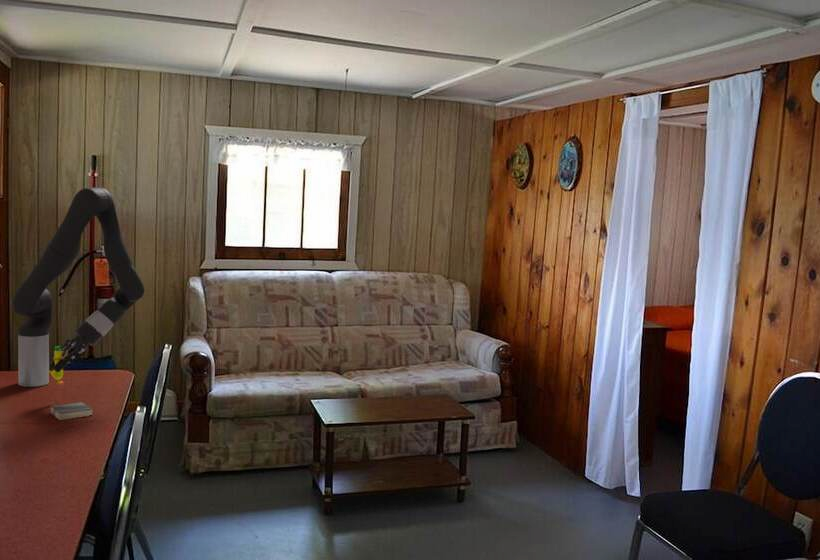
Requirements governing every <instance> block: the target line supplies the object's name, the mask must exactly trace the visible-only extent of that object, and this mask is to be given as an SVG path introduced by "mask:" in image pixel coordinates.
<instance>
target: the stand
mask: <svg viewBox="0 0 820 560" xmlns="http://www.w3.org/2000/svg"><path fill="white" fill-rule="evenodd" d="M50 413H51V414H52V415H53V416H54V417H55V418H56V419H58V420H59V421H63V420H70V419H77V417H78V418H83V417H84V416H85V417H90V415H92V416H93V409H92V408H91V407H90V406H89V405H87V404H85V403H84V402H81V401H80V402H73V403H67V404H59V405H53V406H52V405H51V406H50ZM85 417H84V418H85Z"/></svg>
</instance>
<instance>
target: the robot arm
mask: <svg viewBox="0 0 820 560" xmlns="http://www.w3.org/2000/svg"><path fill="white" fill-rule="evenodd" d="M115 206H116V205H115V202H114V199H113V196H112V194H111V193H110V192H109V190H108V189H106V188H103V187H85V188H82V189H80V190H78V191H77V192H76V194H75V196H74V198H72V201H71V203H70V206H69V209H68V211H67V212H66V214H65V216H64V218H63V221H62V222H61V224H60V225H59V227H58V229H57V230H56V232H55V234H54V235H53V237H52V238H51V239H50V241H49V243H48V245H47V246H46V247H45V250H43V253H42V254H41V256H40V258H39V259H38V261H37V263H36V264H35V266H34V267H33V269H32V270H31V272H30V273H29V275H28V276H27V278H26V279H25V280H24V281H23V283H22V284H21V285H20V286H19V288H18V289H17V290H16V292H15V293H14V295H13V297H12V301H11V304H12V305H11V306H12V309H13V311H14V313H15V314H17V316H18V315H19V316H23V317H24V316H25V317H27V319H26V320H25V322H23V323H22V324H21V325H19V327H18V330H17V333H18V334H17V340H18V341H17V343H18V345H17V347H18V349H17V350H18V354H17V355H18V356H17V357H18V360H17V361H18V367H17V368H18V378H17V379H18V386H21V387H25V388H27V387H29V388H33V387H34V388H35V387H42V386H46V385H48V384H49V383H50V372H49V371H50V368H51V369H52V370H55V371H56V372H59V371H60V370H61V369H62V370H63V368H65V367H66V365H68V364H74V363H75V361H77V360H79V358H81V357H82V356H84V355H85V354H86V353H87V352H88V351H87V350H86V348H87V347H88V346H89V345H90V346H92V347H95V346H96V345H97V344H98V342H99V341H100V340H102V339H103V338H104V337H105V336H106V335H107V334H108V333H109V332H110V331H111V330H112V328H113V326H114V325H116V323H117V322H118V321H119V320H121V318H122V317H123V316H124V315H125V312H127V310H129V309H130V308H131V307H132V306H133V305H135V304H136V303H137V302H138V301H140V300H141V299H142V298H143V296H144V295H145V286H144V283H143V281H142V278H141V277H140V275H139V274H138V272H137V270H136V268H135V266H134V263H133V261H132V258H131V255H130V253H129V250H128V249H127V246H126V244H125V240H124V238H123V235H122V231H121V227H120V223H119V220H118V215H117V210H116V207H115ZM94 217H96V218H97V220H98V222H99V223H100V226H101V231H102V235H103V236H102V239H103V251H104V255H105V258H106V262H107V263H108V266H109V268H110V271H111V272H112V274H113V275H114V276H115V278H116V281H117V283H118V285H119V288H118V289H117V290H116V291H115V292H114V294H113V295H112V296H111V297H110V298H108V299H107V300H106V301H105V302H103V304H102V305H100V307H99V308H97V310H96V311H94V312H93V313H91V315H89V316H88V317H87V318H86V319H85V320H84V321H83V322H82V323H81V324H80V325H79V326H77V328H76V329H75V333H76V334H77V335H76V336H75V337H74V338H72V339H67V340H66V341H65V342H64V344H63V345H62V347H60V349H62V350H61V351H62V356H63V357H62V359H63V360H62V359H61V360H60V361H59V362H58V363H56V364H55V361H54V360H52V361H51V363H50V345H49V344H50V342H49V341H50V339H49V338H50V328H51V326H52V319H53V297H52V295H51V293H50V290H48V289H47V288H48V287H49V285H50V284H52V283H53V282H54V281H56V280H57V279H58V278H60V277H61V276H62V275H63V274H64V273H65V272H66V271H68V270H69V268H70V267H71V266H72V265H73V263H74V261H75V260H76V258H77V257H78V255H79V253H80V250H81V247H82V238H83V237H82V236H83V232H84V231H85V228H86V227H87V226H88V224H89V223H90V221H91V220H92V219H93V218H94Z"/></svg>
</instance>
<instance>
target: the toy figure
mask: <svg viewBox="0 0 820 560" xmlns="http://www.w3.org/2000/svg"><path fill="white" fill-rule="evenodd" d="M61 350H62V349H61V345H57V346H54V350H53V351H54V353H53V355H54V356H53V358H52V361H55V364H56V363H58V362H59V361H60V360H61V359H62V357H63V356H62V351H61ZM62 360H63V359H62ZM49 374H50V375H51V376H52V377H53V378H54V380H55V381H56V380H57V382H55V383H56V384H55V385H56V386H57V385H58V386H59V385H61V386H62V385H64V384H65V382H64V381H63V380H61V379H62V378H63V377H64V369H63V368H62V369H61V370H60V371H59V372H56V371H55V370H54V369H52V370H49ZM60 380H61V381H60Z"/></svg>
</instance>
